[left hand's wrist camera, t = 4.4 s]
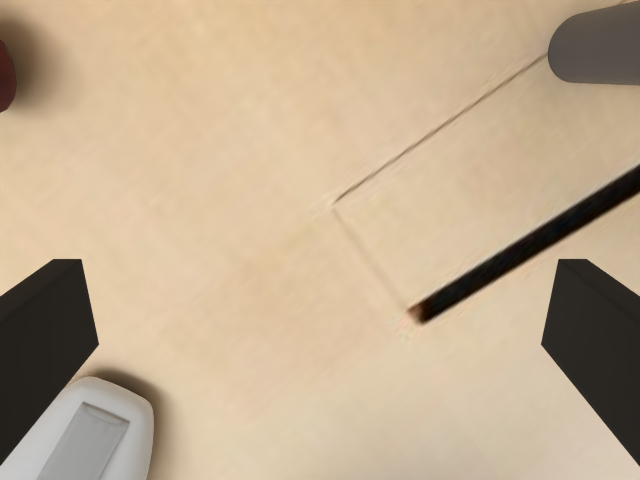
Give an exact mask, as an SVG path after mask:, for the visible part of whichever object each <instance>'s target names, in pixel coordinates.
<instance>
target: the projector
mask: <svg viewBox="0 0 640 480" xmlns="http://www.w3.org/2000/svg"><path fill="white" fill-rule="evenodd" d="M153 435H154V416H153V409H152V406H151V404H150V403H149V402H148V401H147V400H146V399H144V398H143V397H141V396H139V395H137V394H135V393H133V392H131V391H129V390H127V389H125V388H123V387H120V386H118V385H116V384H113V383H111V382H108V381H105V380H102V379H100V378H97V377H91V376H88V377H83V378H81V379H78V380H77V381H75V382H73V383H71V384H70V385H68V386H67V387H65V388H64V389H63V390H62V391H61V392H60V393H59V394H58V396H57V397H56V398H55V399H54V401H53V402H52V403H51V404H50V406H49V407H48V408H47V409H46V411H45V412H44V413H43V414H42V415H41V417H40V418H39V419H38V420H37V422H36V423H35V424H34V425H33V427H32V428H31V429H30V430H29V432H28V433H27V434H26V435H25V436H24V438H23V439H22V440H21V441H20V443H19V444H18V445H17V446H16V448H15V449H14V450H13V451H12V453H11V454H10V455H9V456H8V457H7V459H6V460H5V461H4V462H3V464H2V465H1V466H0V480H147V475H148V471H149V466H150V461H151V454H152V446H153Z"/></svg>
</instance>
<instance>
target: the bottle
mask: <svg viewBox="0 0 640 480" xmlns="http://www.w3.org/2000/svg"><path fill="white" fill-rule="evenodd" d="M548 60H549V64H550V67H551V69H552V71H553V72H554V74H555V75H556V76H557V77H559V78H560V79H562V80H564V81H567V82H572V83H594V84H617V85H640V0H639V1H635V2H630V3H626V4H621V5H617V6H612V7H608V8H603V9H599V10H594V11H590V12H585V13H581V14H577V15H575V16H573V17H571V18H569V19H567V20H566V21H565V22H564V23H562V24H561V25H560V26H559V28H558V29H557V30H556V32H555V33H554V35H553V37H552V39H551V42H550V45H549V50H548Z"/></svg>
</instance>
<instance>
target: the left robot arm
mask: <svg viewBox="0 0 640 480" xmlns="http://www.w3.org/2000/svg"><path fill="white" fill-rule="evenodd" d="M98 345H99V342H98V337H97V332H96V328H95V323H94V318H93V313H92V308H91V303H90V299H89V294H88V289H87V284H86V279H85V274H84V270H83V265H82V260H81V259H53V260H51V261H50V262H49V263H47V264H46V265H44V266H43V267H42V268H40V269H39V270H37V271H36V272H34V273H33V274H32V275H30V276H29V277H27V278H26V279H24V280H23V281H22V282H20V283H19V284H17V285H16V286H14V287H13V288H12V289H10V290H9V291H7V292H6V293H5V294H3V295H2V296H0V466H1V465H2V464H3V462H4V461H5V460H6V459H7V457H8V456H9V455H10V454H11V453H12V451H13V450H14V449H15V448H16V446H17V445H18V444H19V443H20V441H21V440H22V439H23V438H24V436H25V435H26V434H27V433H28V432H29V430H30V429H31V428H32V427H33V425H34V424H35V423H36V422H37V420H38V419H39V418H40V417H41V415H42V414H43V413H44V412H45V411H46V409H47V408H48V407H49V406H50V404H51V403H52V402H53V401H54V399H55V398H56V397H57V396H58V394H59V393H60V392H61V391H62V390H63V388H64V387H65V386H66V385H67V383H68V382H69V381H70V380H71V378H72V377H73V376H74V375H75V374H76V372H77V371H78V370H79V369H80V367H81V366H82V365H83V364H84V362H85V361H86V360H87V359H88V357H89V356H90V355H91V354H92V353H93V351H94V350H95V349H96V348H97V346H98ZM541 345H542V346H543V348H544V349H545V350H546V351H547V353H548V354H549V355H550V356H551V357H552V359H553V360H554V361H555V362H556V364H557V365H558V366H559V367H560V369H561V370H562V371H563V372H564V374H565V375H566V376H567V377H568V378H569V380H570V381H571V382H572V383H573V385H574V386H575V387H576V388H577V390H578V391H579V392H580V393H581V394H582V396H583V397H584V398H585V399H586V401H587V402H588V403H589V404H590V406H591V407H592V408H593V409H594V411H595V412H596V413H597V414H598V415H599V417H600V418H601V419H602V420H603V422H604V423H605V424H606V425H607V427H608V428H609V429H610V430H611V432H612V433H613V434H614V435H615V436H616V438H617V439H618V440H619V441H620V443H621V444H622V445H623V446H624V448H625V449H626V450H627V451H628V453H629V454H630V455H631V456H632V457H633V459H634V460H635V461H636V462H637V464H638V465H639V466H640V296H638V295H637V294H635V293H634V292H633V291H631V290H630V289H628V288H627V287H626V286H624V285H623V284H621V283H620V282H618V281H617V280H616V279H614V278H613V277H611V276H610V275H608V274H607V273H606V272H604V271H603V270H601V269H600V268H598V267H597V266H596V265H594V264H593V263H591V262H590V261H589V260H587V259H559V260H558V265H557V270H556V274H555V279H554V284H553V289H552V294H551V299H550V303H549V308H548V313H547V318H546V323H545V328H544V332H543V337H542V342H541Z"/></svg>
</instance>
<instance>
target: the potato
mask: <svg viewBox="0 0 640 480" xmlns="http://www.w3.org/2000/svg"><path fill="white" fill-rule="evenodd" d="M16 84H17V83H16V77H15V72H14V66H13V62H12V60H11V58H10V56H9V54H8V52H7V50H6V48H5V45H4V43H3V42H2V41H1V40H0V112H2V111H5V110H7V109H8V107H9V106H10V104H11V102H12V101H13V99H14V96H15V90H16Z"/></svg>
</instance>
